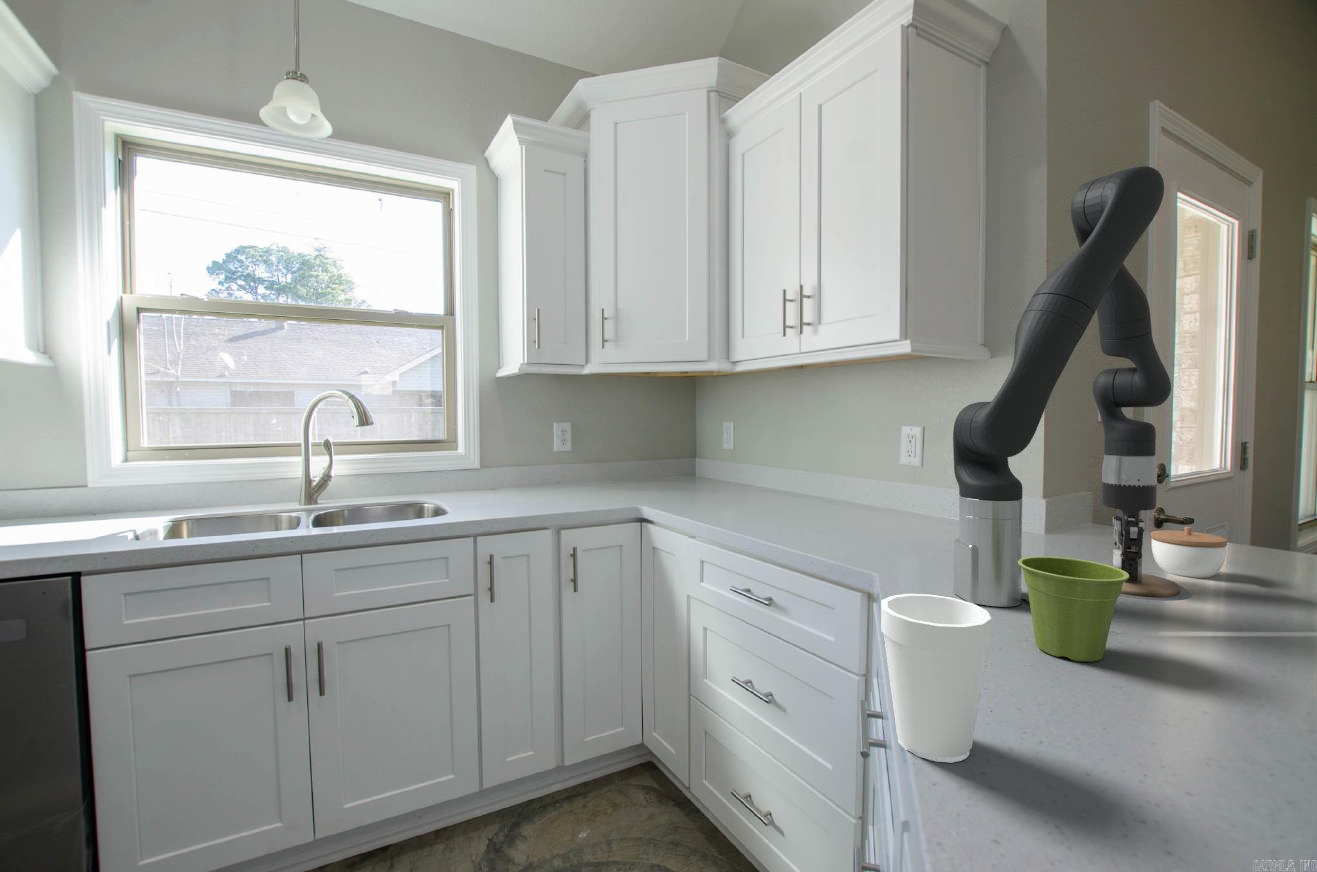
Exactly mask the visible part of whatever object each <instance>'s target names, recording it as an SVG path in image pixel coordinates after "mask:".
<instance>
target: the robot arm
mask: <svg viewBox="0 0 1317 872" xmlns="http://www.w3.org/2000/svg"><path fill="white" fill-rule="evenodd" d="M1164 194H1165V182H1164V178H1163V175H1162V174H1161V172H1160V171H1158V170H1157V169H1156V168H1154V167H1151V166H1145V165H1144V166H1135V167H1130V168H1126V169H1122V170H1120V171H1115V172H1114V173H1110V174H1108V175H1104V176H1101V177H1097V178H1094V179H1092V180H1089V181H1086V182H1085V183H1083V184H1082V185H1080V186H1079V188H1078V189H1077V190H1076V191H1075V193H1074V194H1073V196H1072V199H1071V202H1070V218H1071V223H1072V227H1073V231H1074V235H1075V238H1076V241H1077V244H1078V246H1079V249H1078V250H1076V252H1075V253H1073V254H1072V255H1071V256H1069V258H1068V259H1067V260H1065V261H1064V262H1063V263H1062V264H1061V265H1059V266H1058V268H1056V269H1054V271H1053V272H1052V273H1051V274H1050V275H1048V277H1046V279H1045V280H1043V282H1042V283H1041V284H1039V286H1038V287H1037V289H1036V290H1035V292H1034V293H1033V295H1032V296H1031V299H1030V301H1029V302H1028V304H1027V306H1026V307H1025V309H1024V311H1023V313H1022V314H1021V317H1020V320H1019V322H1018V324H1017V327H1016V331H1015V338H1014V355H1013V361H1012V366H1011V368H1010V371H1009V373H1008V375H1007V377H1006V378H1005V380H1004V382H1003V384H1002V385H1001V387H1000V389H999V390H998V392H997V393H996V395H995V396H994V397H993V399H992V400H991V401H977V402H973V403H970V404H968V405H966V406H965V407H963V408H962V409H961V410H960V411H959V413H958V414H957V416H956V417H955V421H954V425H953V429H952V430H953V431H952V432H953V433H952V443H953V444H952V448H953V469H954V477H955V480H956V482H957V485H958V493H959V494H958V495H959V499H958V500H959V506H958V508H959V509H958V511H959V512H958V515H959V516H958V518H959V519H958V526H959V527H958V538H954V540H953V594H954V595H957V596H958V597H960V598H961V599H962V600H963V601H966V602H969V603H973V604H975V605H983V606H988V607H989V606H991V607H1001V608H1003V607H1004V608H1005V607H1006V608H1007V607H1015V606H1018V605H1021V604H1022V592H1023V590H1022V589H1023V588H1022V584H1023V581H1022V575H1023V574H1022V573H1023V568H1022V567H1021V566H1020V565H1019V564H1018V560H1020V559H1022V558H1023V484H1022V482H1021V480H1020V479H1019V478H1017V477H1016V476H1015V475H1014V473H1013V472H1012V470H1011V469H1010V466H1009V458H1013V457H1015V456H1017V455H1019V454H1020V453H1022V452H1024V450H1025V449H1026V448H1027V447H1029V445H1030V443H1031V441H1032V440H1033V438H1034V436H1035V434H1036V431H1037V430H1038V427H1039V424H1040V422H1041V420H1042V417H1043V414H1044V412H1045V410H1046V407H1047V404H1048V402H1049V400H1050V397H1051V395H1052V392H1053V390H1054V388H1055V386H1056V383H1058V380H1059V378H1060V377H1061V375H1062V373H1063V371H1064V369H1065V367H1066V366H1067V363H1068V362H1069V360H1070V359H1071V356H1072V354H1073V352H1074V350H1075V349H1076V347H1077V345H1078V343H1079V342H1080V340H1081V339H1082V337H1083V335H1084V334H1085V332H1086V330H1087V328H1088V326H1089V325H1090V323H1091V321H1092V318H1093V317H1094V315H1095V313H1096V315H1097V316H1096V317H1097V323H1098V334H1099V342H1100V349H1101V352H1102V353H1103V355H1105V356H1109V357H1115V358H1116V357H1117V358H1121V359H1122V358H1123V359H1127V360H1129V361H1130V362H1132V364H1133V365H1135V366H1131V367H1112V368H1106V369H1103V370H1101V371H1100V372H1099V373H1097V375H1096V376H1095V378H1094V380H1093V383H1092V395H1093V398H1094V401H1095V404H1096V406H1097V409H1098V412H1099V415H1100V420H1101V423H1102V426H1103V432H1104V438H1103V439H1104V443H1103V444H1104V446H1103V447H1104V448H1103V449H1104V450H1103V451H1104V453H1103V454H1104V455H1103V461H1102V468H1101V469H1102V471H1101V474H1102V475H1101V480H1102V481H1101V505H1102V506H1104V507H1105V508H1109V509H1114V510H1117V514H1115V515H1114V516H1112V525H1113V538H1114V546H1115V549H1121V554H1120V557H1121V570H1123V571H1125V572H1127V573H1128V574H1129V579H1127V580H1126V581H1132V582H1136V581H1137V580H1138V560H1139V559H1141V557H1142V558H1143V545H1144V543H1143V542H1144V541H1143V540H1144V539H1143V538H1144V532H1145V521H1144V520H1142V518H1141V517H1140V512H1141V511H1153V510H1155V509H1156V508H1157V496H1158V495H1157V494H1158V493H1157V492H1158V490H1157V489H1158V488H1157V485H1158V467H1157V461H1156V440H1157V439H1156V437H1157V435H1156V434H1157V433H1156V427H1155V425H1154V424H1152V423H1150V422H1147V421H1142V420H1136V419H1132V418H1129V417H1127V416H1126V415H1125V413H1124V412H1123V409H1122V408H1155V407H1159V406H1161V405H1164V403H1165V402H1166V401H1167V399H1168V398H1169V397H1170V395H1171V392H1172V391H1171V390H1172V382H1171V379H1170V376H1169V374H1168V371H1167V369H1166V368H1165V366H1164V364H1163V362H1162V360H1161V358H1160V356H1159V353H1158V351H1157V348H1156V345H1155V343H1154V338H1153V332H1152V329H1153V328H1152V321H1151V320H1152V319H1151V309H1150V304H1149V300H1148V298H1147V296H1146V293H1145V291H1144V290H1143V288H1142V287H1141V285H1140V284H1139V283H1138V282H1137V280H1136V279H1135V277H1134V276H1133V275H1132V274H1131V272H1130V271H1129V270H1128V268H1127V267H1126V266H1125V264H1124V263H1125V261H1126V259H1127V257H1128V256H1129V255H1130V253H1131V252H1132V250H1133V248H1134V247H1135V246H1136V244H1137V243H1138V241H1140V240H1141V237H1142V236H1143V234H1144V233H1145V232H1146V230H1147V229H1148V227H1149V226H1150V225H1151V223H1152V222H1153V220H1154V218H1155V217H1156V215H1157V214H1158V211H1159V209H1160V207H1161V204H1162V202H1163V198H1164ZM1127 549H1128V550H1135V551H1127ZM1141 553H1142V554H1141Z"/></svg>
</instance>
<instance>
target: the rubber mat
mask: <svg viewBox="0 0 1317 872" xmlns="http://www.w3.org/2000/svg"><path fill="white" fill-rule="evenodd" d="M1192 595H1193V594H1192V592H1191V591H1190V590H1188V589H1187V588H1185V587H1182V586H1180V594H1179V595H1177V596H1173V597H1141V596H1132V595H1124V594H1120V596H1119V597H1123V598H1127V599H1129V598H1130V599H1134V600H1135V599H1137V600H1146V601H1147V600H1148V601H1160V602H1161V601H1165V602H1166V601H1168V602H1169V601H1183V600H1187V599H1190V598H1191V597H1192Z"/></svg>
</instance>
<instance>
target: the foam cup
mask: <svg viewBox="0 0 1317 872" xmlns="http://www.w3.org/2000/svg"><path fill="white" fill-rule="evenodd" d="M880 607H881V608H880V609H881V610H880V623H881V624H880V631H881V632H882V634H883V638H884V645H885V655H886V661H887V669H888V678H889V684H890V693H891V699H892V700H891V701H892V707H893V714H894V715H893V716H894V721H895V729H896V730H895V731H896V736H897V742H898V744H899V745H900V746H901V747H902V748H903V749H904V750H905V751H906V750H907V749H908V748H911V749H913V750H916V751H918V752H922V753H923V754H927V755H931V756H935V757H959V756H962V755H966V754H967V753H968V752H969V750H970V749H972V748H973V742H974V736H975V730H976V724H977V723H976V722H977V717H978V711H979V704H980V698H981V693H982V687H983V680H984V675H985V668H986V661H987V657H988V649H989V646H990V645H992V617H991V615H990V612H989V611H988V610H987V609H985V608H983V607H981V606H979V605H978V604H973V603H969V602H967V601H966V600H963V599H958V598H955V597H949V596H942V595H937V594H936V595H934V594H930V593H929V594H928V593H927V594H926V593H924V594H923V593H903V594H902V593H901V594H895V595H890V596H888V597H886V598H884V599H881V601H880Z"/></svg>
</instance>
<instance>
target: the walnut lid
mask: <svg viewBox="0 0 1317 872" xmlns="http://www.w3.org/2000/svg"><path fill="white" fill-rule="evenodd" d="M1127 551H1135V550H1128V549H1127ZM1120 554H1121V549H1116V548H1114V549H1112V566H1113V567H1116V568H1119V569H1121V557H1120ZM1141 554H1142V555H1143V552H1142V553H1141ZM1180 587H1181V586H1180V584H1178V583H1177V582H1175V581H1173V580H1170V579H1167V578H1164V577H1160V576H1157V575H1153V574H1152V575H1151V574H1148V573H1143V556H1142V557H1141V559H1139V560H1138V580H1137V581H1136V582H1132V581H1124V582H1123V585H1122V589H1121V593H1120V594H1124V595H1132V596H1141V597H1173V596H1177V595H1179V594H1180Z"/></svg>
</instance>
